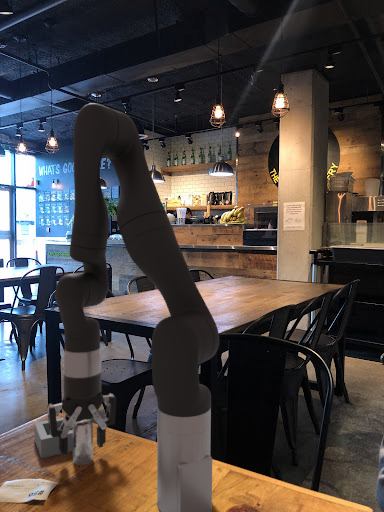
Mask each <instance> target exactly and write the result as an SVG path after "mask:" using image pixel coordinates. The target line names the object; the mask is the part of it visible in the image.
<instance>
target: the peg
mask: <svg viewBox="0 0 384 512" xmlns="http://www.w3.org/2000/svg"><path fill="white" fill-rule="evenodd" d="M93 425H94V423H93V419H89V420H85V419H84V420H82V421H79V422H76V421H75V423H74V425H73V451H72V463H73V464H74V465H75V466H85V465H88V464H90V463H92V461H93V460H94V456H93V455H94V452H93V451H94V450H93V449H94V448H93V447H94V442H93V441H94V439H93V438H94V433H93V432H94V428H93V427H94V426H93Z"/></svg>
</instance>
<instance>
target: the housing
mask: <svg viewBox="0 0 384 512" xmlns="http://www.w3.org/2000/svg"><path fill="white" fill-rule="evenodd" d="M63 418H64V416H63V417H56V421H57V428H60V426H61V424H62V422H63ZM33 424H34V425H33V426H34V427H33V428H34V442H35V446H36V447H37V450H38V454H39V456H40V460H42V459H45V458H49V457H54V456H58V455H63V453H61V452H60V450H59V437H52V436H51V434H50V431H49V424H48V419H47V420H41V421H37V422H34V423H33ZM67 437H68V453H73V427H72V428H71V429H70V430H69V432H68V434H67Z"/></svg>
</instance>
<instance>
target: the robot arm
mask: <svg viewBox="0 0 384 512" xmlns="http://www.w3.org/2000/svg"><path fill="white" fill-rule="evenodd" d="M72 139H73V140H72V141H73V143H72V144H73V147H72V148H73V150H72V151H73V181H74V183H73V184H74V212H73V222H72V228H71V229H72V230H71V238H70V242H69V243H70V246H69V257H71V259H72V260H73V261H74V262H75V261H76V262H78V263H82V266H83V272H78V273H77V272H75V273H67V274H64V275H63V276H61V277H60V278H59V280H58V282H57V283H56V286H55V293H54V294H55V300H56V306H57V308H58V312H59V314H60V319H61V322H62V326H63V328H64V329H63V330H64V352H63V354H64V355H63V359H62V360H63V362H62V363H63V364H62V372H63V373H62V375H63V377H62V379H63V382H62V383H63V384H62V385H63V388H62V389H63V397H62V400H61V402H59V403H56V404H55V403H54V404H53V403H51V402H50V403H48V404H47V406H46V410H47V413H46V414H47V420H48V424H49V431H50V434H51V436H52V437H59V450H60V452H61V453H63V454H62V455H63V456H64V457H65V456H68V455H69V452H68V437H67V434H68V432H69V430H70V429H71V428H72V427H73V425H74V423H75V421H76V422H79V421H82V420H84V419H85V420H89V419H92V418H94V420H95V422H96V423H97V426H96V444H97V446H98V448H102V447H104V444H106V435H107V433H106V432H107V430H106V429H107V427H109V426H113V425H115V423H116V411H117V397H116V396H115V395H114V394H113V393H111V392H110V393H107V395H106V394H105V395H103V394H102V354H101V325H100V322H99V321H98V320H97V319H95V318H91V317H86V314H85V311H84V308H88V307H93V306H98V305H100V304H102V303H103V301H104V300H105V299H106V297H107V296H108V293H109V284H110V282H109V274H108V266H107V264H108V263H107V258H106V257H107V255H106V253H107V245H108V238H109V232H110V231H109V230H110V215H109V210H108V207H107V203H106V199H105V197H104V193H103V189H102V183H101V164H102V158H106V159H109V162H110V163H111V165H112V167H113V168H114V171H115V174H116V177H117V180H118V184H119V190H120V191H119V196H118V201H117V202H118V203H117V209H116V223H117V227H118V230H119V232H120V236H121V238H122V241H123V243H124V247H125V248H126V251H127V253H128V255H129V257H130V259H131V260H132V262H133V263H134V264H135V265H136V267H137V268H138V269H139V270H140V271H141V272H142V273H143V274H144V275H145V277H146V278H148V280H149V281H150V282H151V283H152V284H153V285H154V286H155V287H156V288H157V290H158V291H159V293H160V295H161V297H162V298H163V300H164V302H165V304H166V305H165V306H166V307H167V310H168V313H169V316H168V317H165V318H163V319H161V320H160V321H159V322H158V323H157V324H156V326H155V327H154V329H153V332H152V337H151V345H150V346H151V347H150V350H151V352H150V353H151V370H152V371H151V372H152V373H151V374H152V375H151V376H152V386H153V390H154V393H155V397H156V399H157V418H156V419H157V421H156V423H157V424H156V427H157V429H156V431H157V433H156V434H157V436H156V437H157V438H156V439H157V441H156V442H157V443H156V451H157V453H156V456H157V457H156V469H157V470H156V475H157V476H156V487H157V488H156V491H157V492H156V505H157V508H158V510H159V512H212V510H213V509H212V508H213V457H212V456H211V431H212V430H211V428H212V427H211V425H212V424H211V423H212V422H211V421H212V416H211V415H212V413H211V412H212V411H211V410H212V393H211V391H210V389H209V387H207V386H206V385H204V384H201V383H200V379H199V377H200V375H199V374H200V373H199V366H200V364H202V363H204V362H207V361H209V360H210V359H212V358H213V357H214V356H215V355H216V354H217V351H219V348H220V347H219V346H220V333H219V329H218V327H217V324H216V321H215V319H214V318H213V317H214V316H213V315H212V313H211V311H210V309H209V308H208V306H207V304H206V301H205V300H204V297H203V295H202V294H201V293H200V291H199V289H198V287H197V285H196V282H195V280H194V278H193V276H192V274H191V271H190V268H189V266H188V264H187V261H186V259H185V256H184V254H183V252H182V250H181V248H180V245H179V243H178V239H177V238H176V237H177V236H176V234H175V230H174V228H173V226H172V224H171V222H170V221H171V220H170V218H169V217H168V213H167V211H166V209H165V207H164V205H163V203H162V200H161V198H160V195H159V193H158V189H157V186H156V185H155V182H154V179H153V177H152V175H151V172H150V169H149V165H148V161H147V160H146V159H147V158H146V155H145V152H144V149H143V148H144V147H143V144H142V141H141V137H140V134H139V131H138V128H137V126H136V124H135V122H134V121H133V119H132V118H131V117H130V116H129V115H127V113H125V112H122V111H120V110H116V109H113V108H110V107H108V106H105V105H103V104H100V103H95V102H92V103H91V102H90V103H88V104H85V105H84V106H83V107H82V108H80V110H79V111H78V113H77V115H76V117H75V121H74V125H73V138H72ZM103 404H105V407H106V412H105V418H103V417H102V415H101V414H100V412H99V409H100V407H101V406H102V405H103ZM62 410H63V412H65V414H64V416H63V417H64V418H63V422H62V424H61V426H60V428H57V421H56V419H57V416H59V415H60V411H62ZM92 420H93V419H92Z"/></svg>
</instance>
